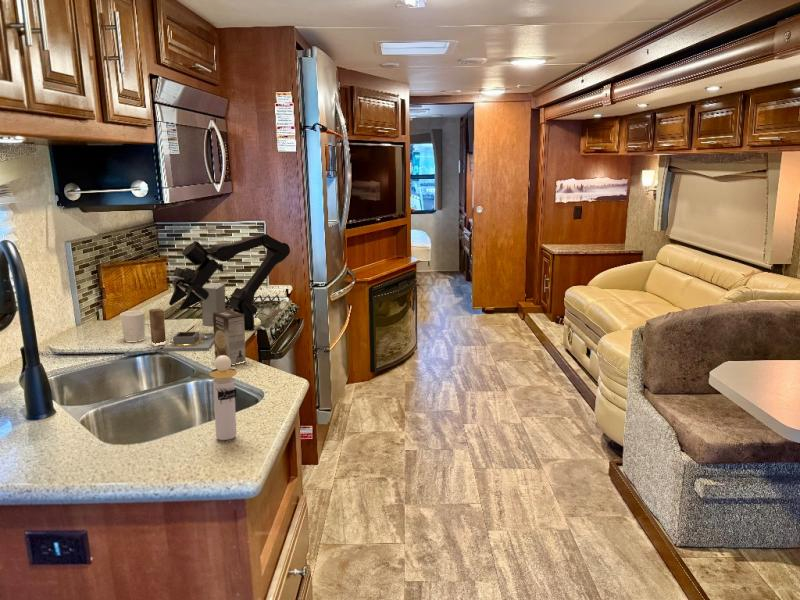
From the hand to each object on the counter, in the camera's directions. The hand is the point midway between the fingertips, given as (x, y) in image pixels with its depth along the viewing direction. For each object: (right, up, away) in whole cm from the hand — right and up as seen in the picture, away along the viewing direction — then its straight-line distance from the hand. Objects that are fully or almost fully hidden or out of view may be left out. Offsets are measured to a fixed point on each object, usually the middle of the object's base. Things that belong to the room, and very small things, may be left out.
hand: (175, 306), depth 209 cm
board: (+6, -13, +1) cm, 14 cm away
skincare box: (+5, -7, +27) cm, 29 cm away
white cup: (-16, -12, +3) cm, 20 cm away
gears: (+6, -12, 0) cm, 14 cm away
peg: (-5, -13, -2) cm, 14 cm away
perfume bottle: (+39, -30, -72) cm, 87 cm away
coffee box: (+25, -18, -18) cm, 35 cm away
